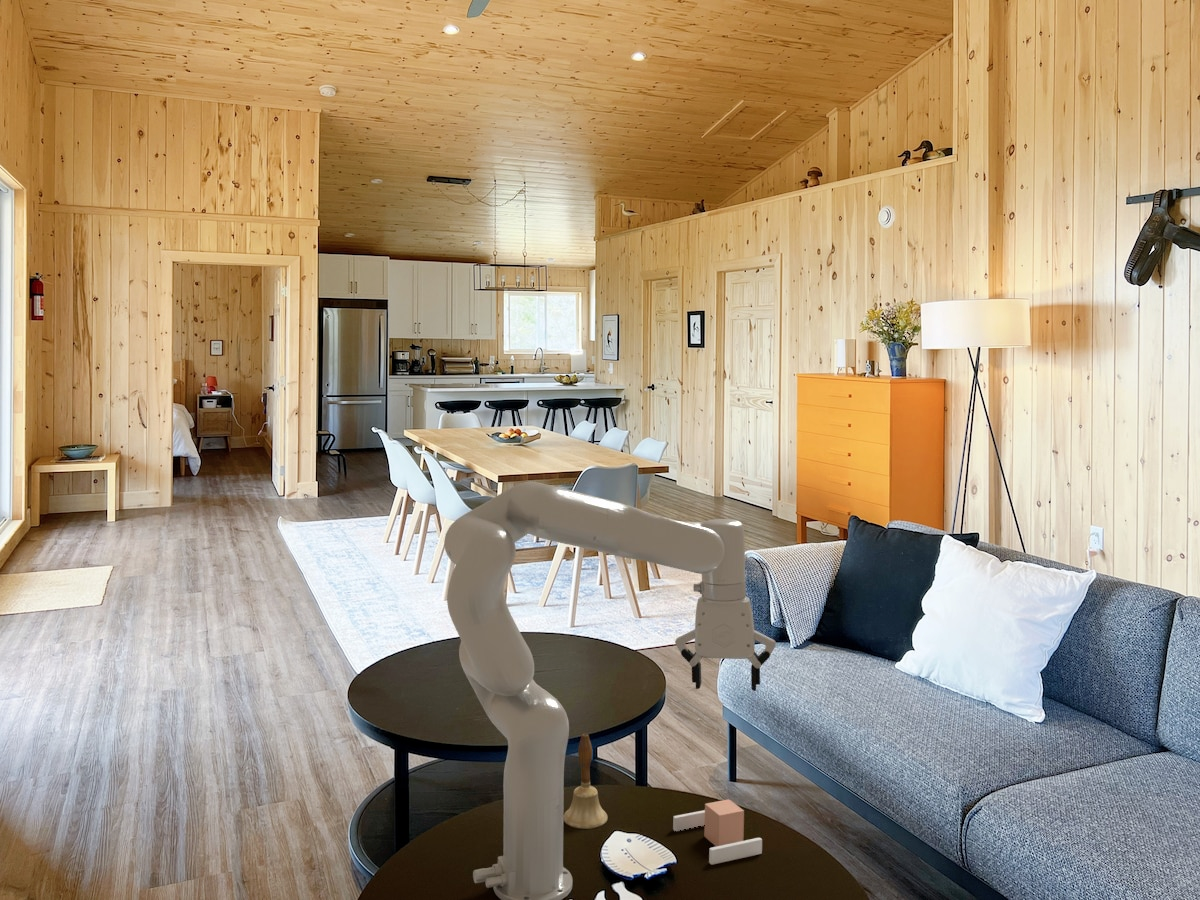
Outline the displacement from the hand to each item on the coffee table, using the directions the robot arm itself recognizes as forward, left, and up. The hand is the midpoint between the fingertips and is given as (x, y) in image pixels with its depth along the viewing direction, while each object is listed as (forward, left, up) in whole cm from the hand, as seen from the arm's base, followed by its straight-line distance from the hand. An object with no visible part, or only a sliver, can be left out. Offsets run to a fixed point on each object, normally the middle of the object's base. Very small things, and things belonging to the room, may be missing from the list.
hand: (726, 687), depth 160 cm
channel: (-1, +1, -28) cm, 28 cm away
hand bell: (-19, +18, -28) cm, 38 cm away
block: (+1, +1, -28) cm, 28 cm away
